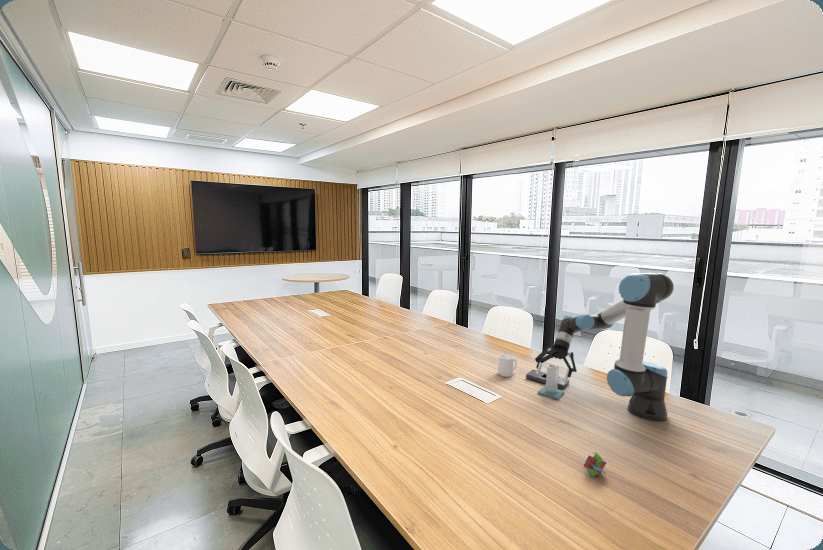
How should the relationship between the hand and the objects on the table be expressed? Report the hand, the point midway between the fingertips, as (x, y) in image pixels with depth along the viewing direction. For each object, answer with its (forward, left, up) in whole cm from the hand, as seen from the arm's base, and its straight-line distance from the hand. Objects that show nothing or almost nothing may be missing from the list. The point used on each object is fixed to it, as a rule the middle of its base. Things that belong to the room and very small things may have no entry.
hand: (550, 378), depth 176 cm
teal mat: (+1, -2, -9) cm, 9 cm away
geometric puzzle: (-52, +27, -9) cm, 59 cm away
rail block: (+14, -11, -9) cm, 20 cm away
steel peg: (+1, -2, -8) cm, 8 cm away
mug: (+29, +4, -9) cm, 31 cm away
